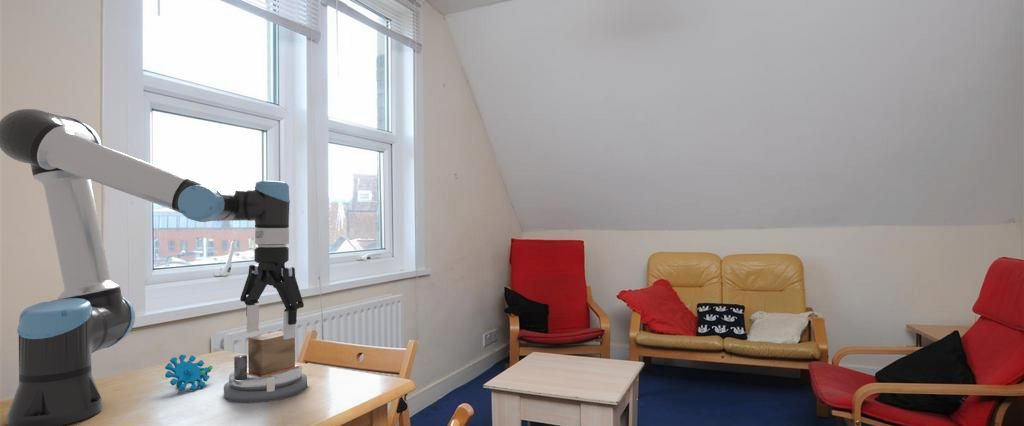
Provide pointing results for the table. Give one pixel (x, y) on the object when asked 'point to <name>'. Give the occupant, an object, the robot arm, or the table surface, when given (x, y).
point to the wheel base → (265, 391)
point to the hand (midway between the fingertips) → (270, 334)
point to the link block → (270, 353)
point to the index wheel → (260, 376)
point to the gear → (187, 372)
